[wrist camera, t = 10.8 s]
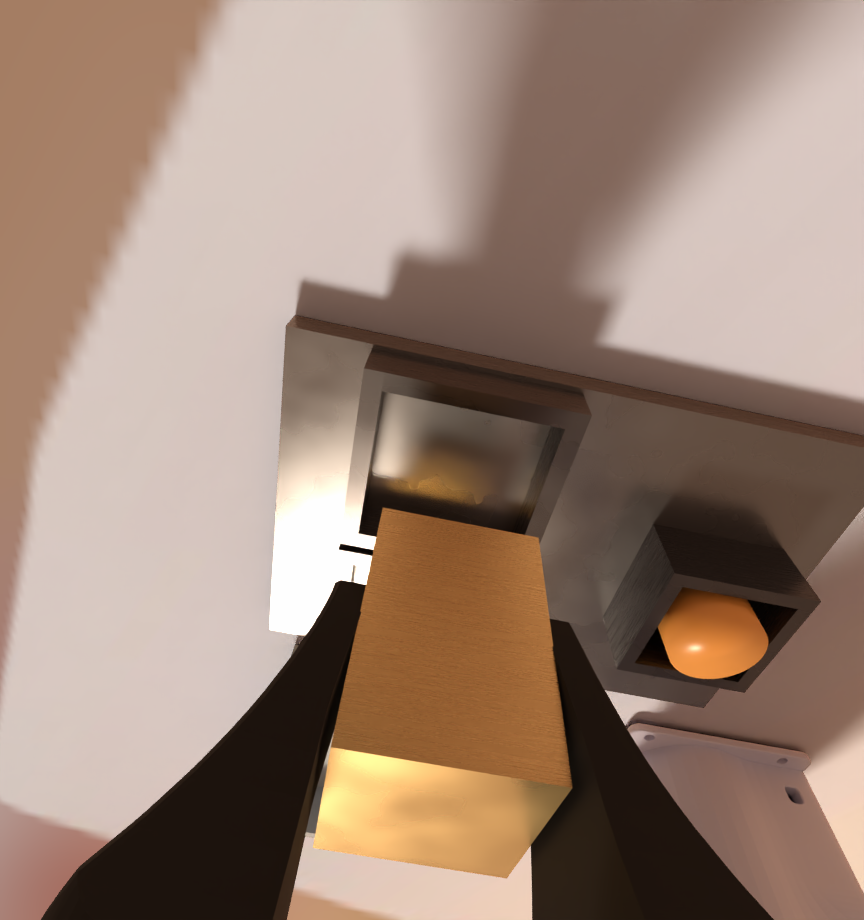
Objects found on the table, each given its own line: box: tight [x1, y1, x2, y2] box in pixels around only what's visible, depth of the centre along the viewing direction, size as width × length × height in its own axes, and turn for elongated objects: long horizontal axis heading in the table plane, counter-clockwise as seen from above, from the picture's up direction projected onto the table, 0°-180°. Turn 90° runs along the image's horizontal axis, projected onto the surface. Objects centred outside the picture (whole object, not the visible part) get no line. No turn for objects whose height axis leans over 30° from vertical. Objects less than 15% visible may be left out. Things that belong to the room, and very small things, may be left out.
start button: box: [658, 587, 768, 679], centre depth 20 cm, size 3×3×2 cm
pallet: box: [269, 315, 864, 708], centre depth 20 cm, size 20×14×4 cm
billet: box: [313, 508, 572, 878], centre depth 13 cm, size 4×4×6 cm
